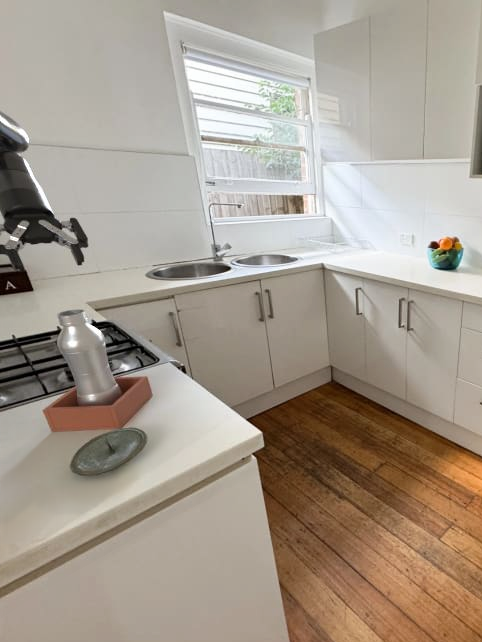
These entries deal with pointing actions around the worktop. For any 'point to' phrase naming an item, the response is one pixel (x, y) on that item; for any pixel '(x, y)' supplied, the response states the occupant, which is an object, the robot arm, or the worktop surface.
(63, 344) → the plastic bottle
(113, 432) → the lid
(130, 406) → the caddy
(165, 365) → the worktop surface
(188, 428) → the worktop surface
